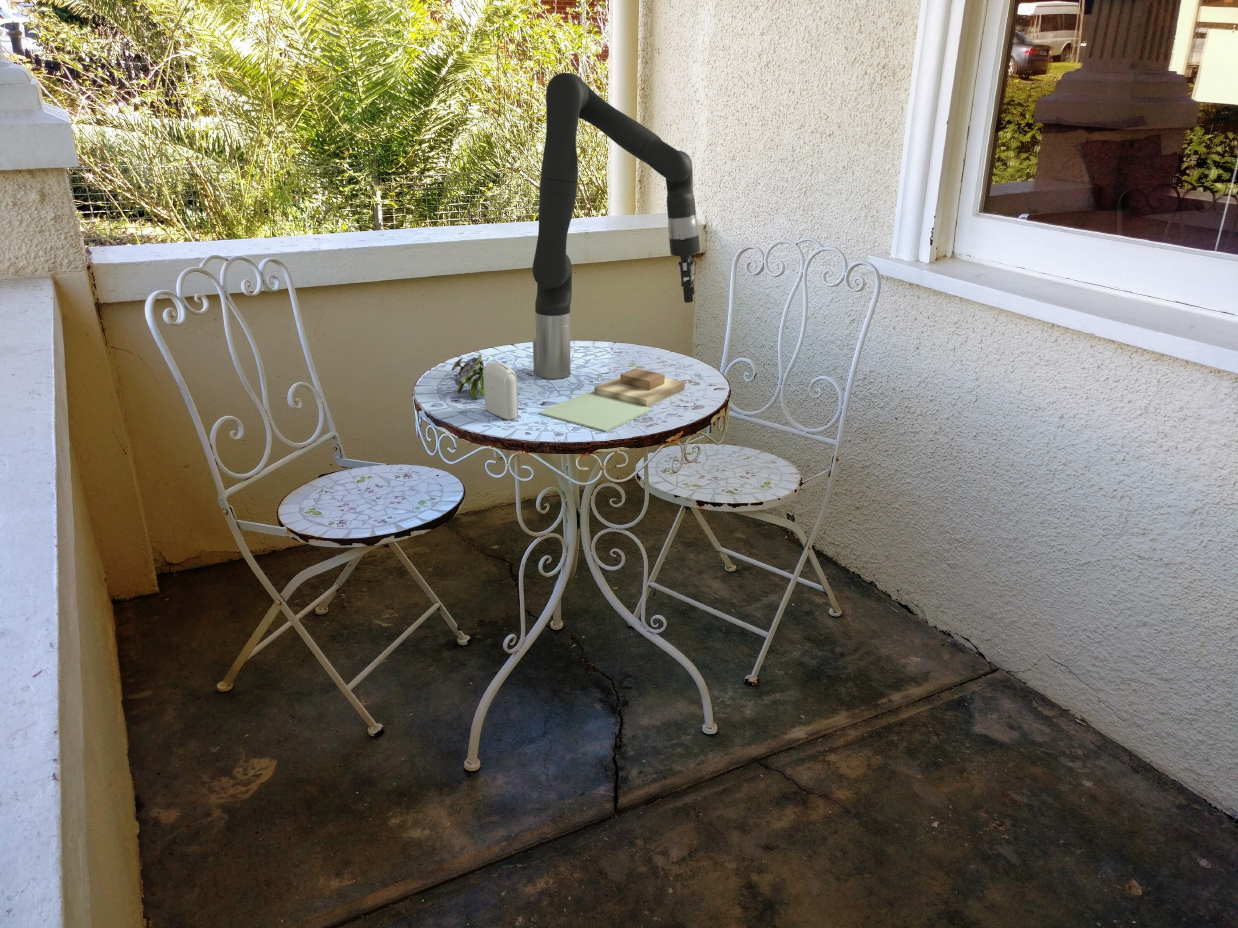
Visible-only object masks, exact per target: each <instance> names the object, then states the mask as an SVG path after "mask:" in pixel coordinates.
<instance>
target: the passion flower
mask: <svg viewBox="0 0 1238 928" xmlns="http://www.w3.org/2000/svg"><path fill="white" fill-rule="evenodd" d="M482 356H483V355H482V353H481V354H478V355H477V357H476V356H474V357H471V358H469V359H467V360H466V361H464V364H463V365H461V362H462V360H463V357H461V358H459V359H458V360H456V361H455V363H454V364H453V365H452V367H451V368H452V369H451V371H455V369H456V368H458V367H459V371H458V372H457V373H456V374H455V376H454V377H455V379H454V384H455V385H456V386H457V388H456V392H457V393H460V392H462V391H463V388H464V386H465V384H467V386H468V387H469V388H470V392H471V393H470V394H471V398H472V399H475V400H477V399H478V398H477V396H478V394H479V393H480V396H481V398H482V397H483V396H484V379H483V370H484V367H485V365H484V361H483V359H482ZM474 377H475V378H474ZM479 383H480V385H479ZM479 386H480V387H479ZM479 391H480V392H479Z"/></svg>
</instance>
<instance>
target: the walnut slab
mask: <svg viewBox="0 0 1238 928" xmlns="http://www.w3.org/2000/svg"><path fill="white" fill-rule="evenodd" d="M665 375H666V374H663V373H660V372H655V371H650V370H646V369H641V368H632V369H629V370H627V371H626V372H623V373H621V374H620V375H619V377H620V384H624V385H628V386H632V387H636V388H641V389H645V390H649V391H650V390H652V389H654V388H656V387H658V386H661V385H663V384H664V379H665V378H666V377H665Z"/></svg>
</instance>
